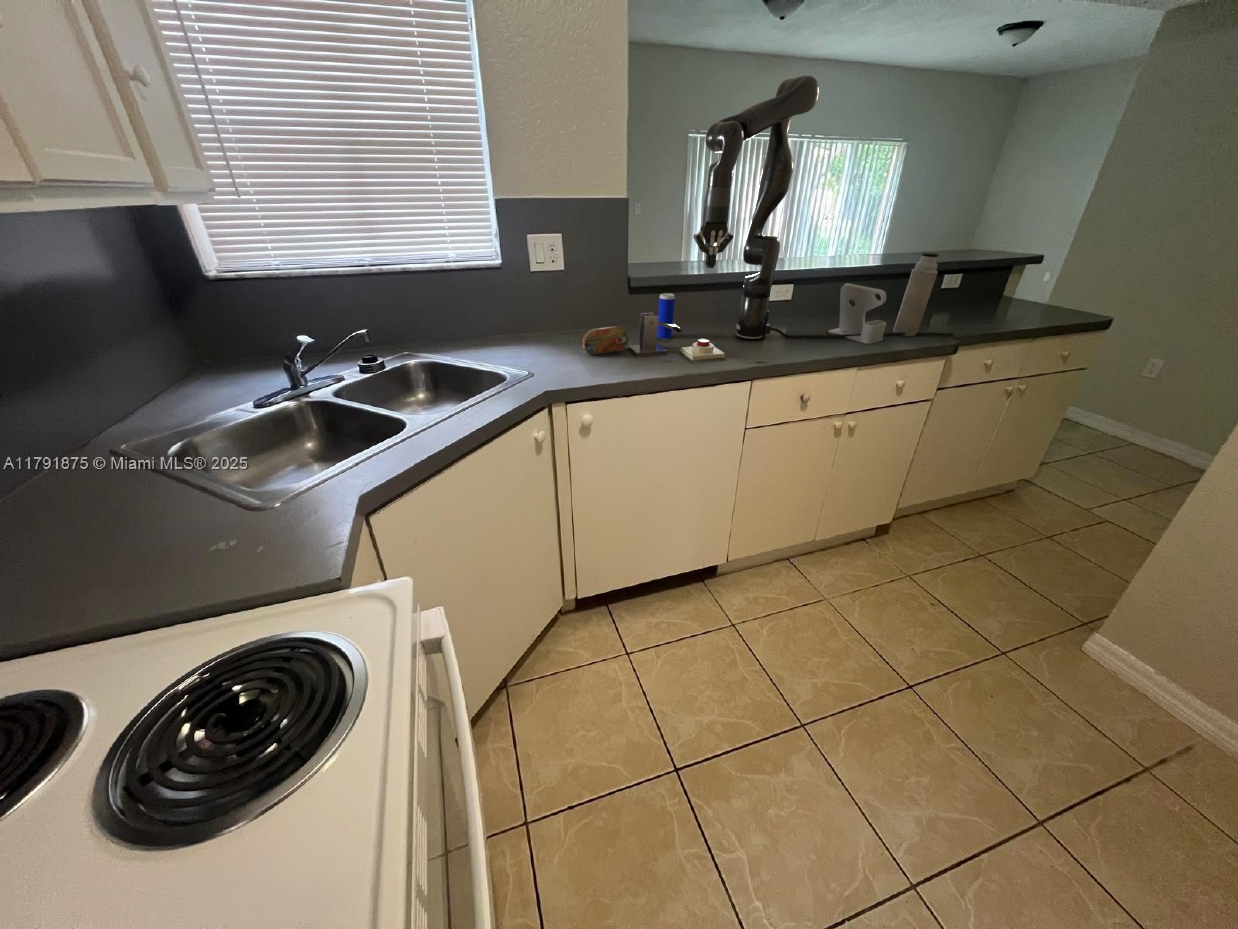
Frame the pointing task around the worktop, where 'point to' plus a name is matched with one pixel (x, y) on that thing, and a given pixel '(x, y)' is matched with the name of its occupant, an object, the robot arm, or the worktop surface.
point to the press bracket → (647, 335)
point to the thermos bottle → (917, 295)
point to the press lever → (668, 326)
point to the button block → (702, 352)
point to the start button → (703, 342)
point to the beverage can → (666, 314)
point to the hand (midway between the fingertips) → (710, 267)
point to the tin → (605, 340)
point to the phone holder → (860, 314)
